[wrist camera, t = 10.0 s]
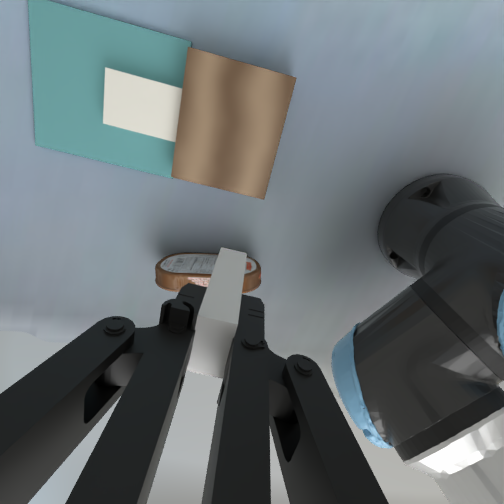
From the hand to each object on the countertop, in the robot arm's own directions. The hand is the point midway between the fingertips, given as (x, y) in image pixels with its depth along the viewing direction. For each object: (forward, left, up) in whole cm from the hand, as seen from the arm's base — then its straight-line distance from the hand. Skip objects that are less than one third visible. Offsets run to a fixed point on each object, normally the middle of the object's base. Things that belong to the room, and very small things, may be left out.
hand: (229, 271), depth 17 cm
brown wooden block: (+3, -6, -27) cm, 27 cm away
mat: (+18, -6, -27) cm, 33 cm away
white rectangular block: (+14, -6, -26) cm, 30 cm away
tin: (+2, +13, -27) cm, 30 cm away
